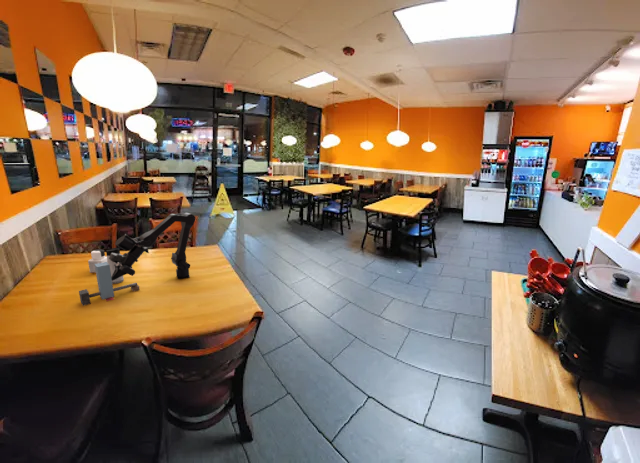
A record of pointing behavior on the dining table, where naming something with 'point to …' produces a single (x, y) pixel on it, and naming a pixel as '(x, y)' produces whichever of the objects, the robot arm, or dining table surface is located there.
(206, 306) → the dining table surface
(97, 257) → the container
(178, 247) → the robot arm
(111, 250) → the travel mug
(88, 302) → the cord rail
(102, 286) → the sleeve
